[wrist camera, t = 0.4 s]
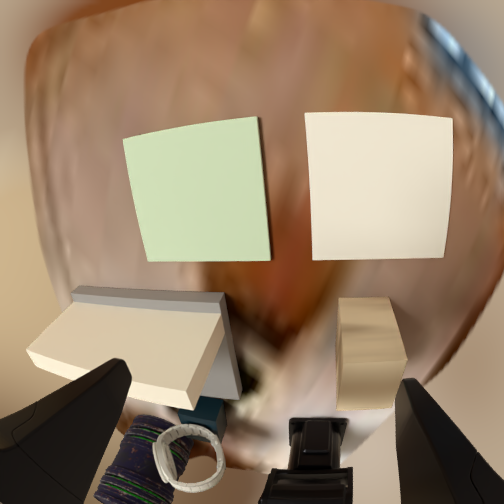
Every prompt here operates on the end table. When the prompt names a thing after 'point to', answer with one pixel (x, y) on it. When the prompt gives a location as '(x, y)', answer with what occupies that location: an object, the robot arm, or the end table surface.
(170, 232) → the sage mat
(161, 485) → the storage jar
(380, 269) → the end table surface
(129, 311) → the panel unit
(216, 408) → the watch
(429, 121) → the cream mat
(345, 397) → the block
